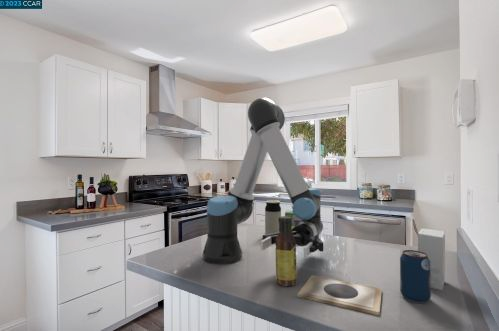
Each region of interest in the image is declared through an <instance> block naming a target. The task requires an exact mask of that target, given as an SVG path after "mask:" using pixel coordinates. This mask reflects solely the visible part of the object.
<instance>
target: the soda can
mask: <svg viewBox="0 0 499 331" xmlns="http://www.w3.org/2000/svg"><path fill="white" fill-rule="evenodd" d="M427 256H428V255H427V254H426V253H424V252H420V251H418V250H413V249H405V250H403V251H402V254H401V255H400V257H399V264H400V265H399V267H400V268H399V269H400V270H399V274H400V275H399V278H400V279H399V281H400V282H399V287H400V288H399V289H400V293H401V295H402V296H403V298H404V299H406V300H407V301H409V302H413V303H416V304H426V303H428V301H429V300H430V299H431V298H432V295H431V294H432V292H431V290H432V288H431V281H430V260H429V259H428V257H427Z"/></svg>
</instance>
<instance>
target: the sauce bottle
mask: <svg viewBox="0 0 499 331" xmlns="http://www.w3.org/2000/svg"><path fill="white" fill-rule="evenodd" d="M291 222H292V218H291V217H288V216H285V215H284V216H283V215H281V217H279V231H280V232H279V234H278V236H277V238H276V243H275V278H276V283H277V284H278V285H280V286H283V287H291V286H294V285H296V284H297V245H296V242H295V239H294V236H293V233H292V229H291Z"/></svg>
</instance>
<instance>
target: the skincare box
mask: <svg viewBox="0 0 499 331" xmlns="http://www.w3.org/2000/svg"><path fill="white" fill-rule="evenodd" d="M417 251H420V252H424V253H426V254H427V255H428V256H427V257H428V259H429V260H430V281H431V289H434V290H439V291H443V290H444V286H445V273H446V272H445V269H446V268H445V266H446V265H445V264H446V261H445V260H446V231H445V230H439V229H438V230H437V229H431V228H430V229H429V228H423V227H422V228H421V229H420V230H419V231H418V233H417Z"/></svg>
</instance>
